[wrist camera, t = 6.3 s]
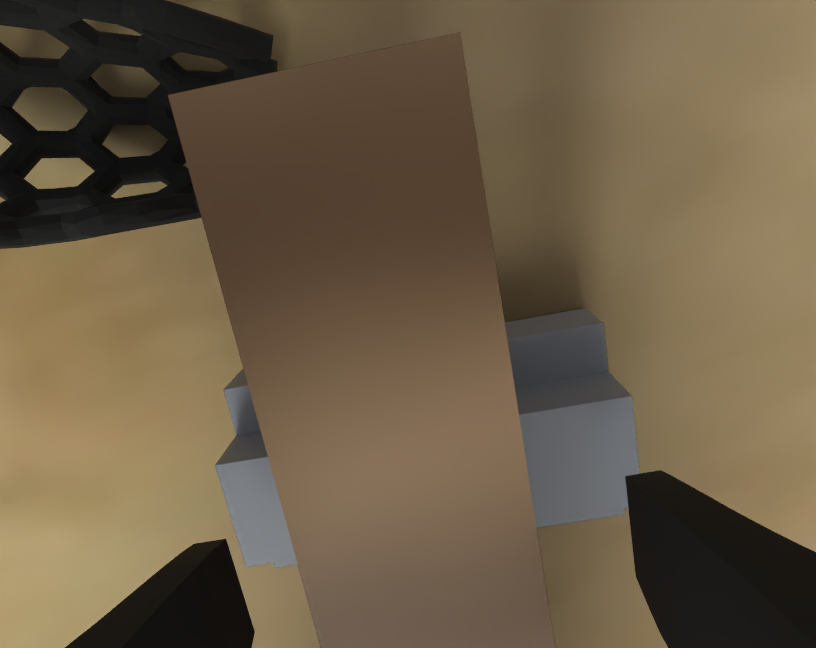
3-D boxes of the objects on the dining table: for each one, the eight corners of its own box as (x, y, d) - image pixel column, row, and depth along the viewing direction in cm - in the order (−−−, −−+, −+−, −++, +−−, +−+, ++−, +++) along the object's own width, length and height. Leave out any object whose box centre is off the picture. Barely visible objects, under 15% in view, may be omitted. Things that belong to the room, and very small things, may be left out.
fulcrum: (605, 483, 16) (647, 553, 13) (287, 532, 16) (258, 610, 13) (584, 307, 14) (626, 341, 12) (242, 369, 15) (199, 415, 12)
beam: (556, 760, 14) (606, 977, 10) (418, 777, 14) (417, 995, 11) (445, 86, 10) (459, 33, 7) (260, 124, 11) (168, 95, 7)
